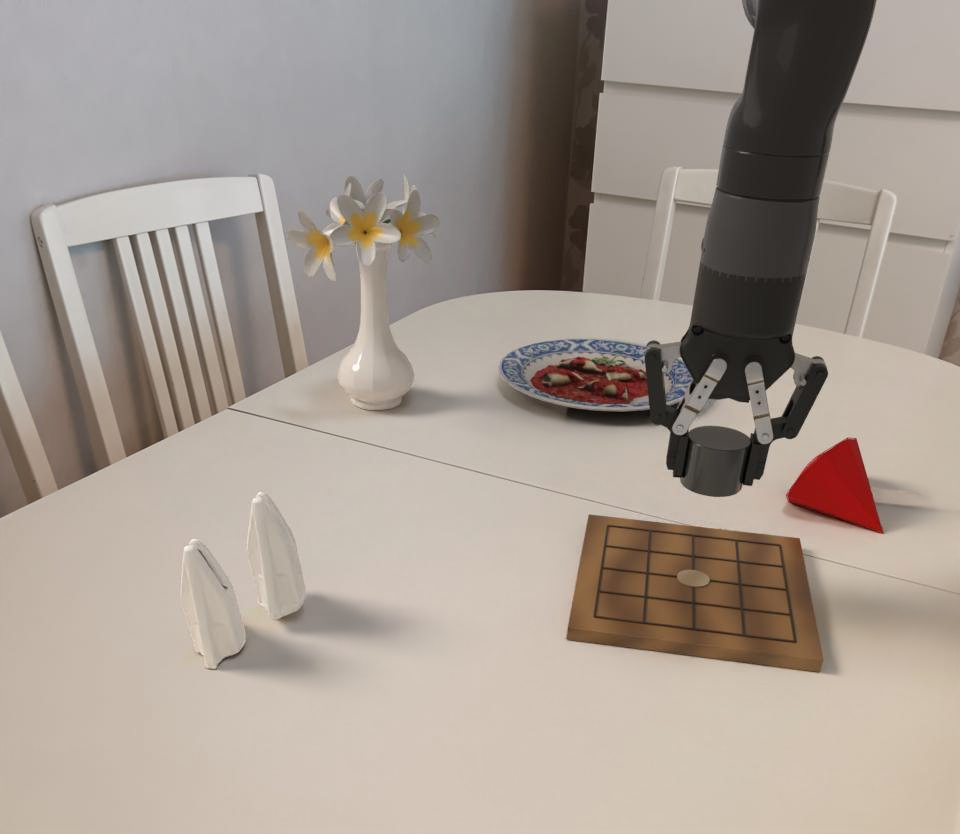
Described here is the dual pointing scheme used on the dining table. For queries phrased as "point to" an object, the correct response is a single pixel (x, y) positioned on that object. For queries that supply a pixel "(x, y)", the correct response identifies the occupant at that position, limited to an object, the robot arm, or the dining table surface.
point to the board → (695, 593)
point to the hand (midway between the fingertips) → (712, 476)
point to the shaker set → (213, 593)
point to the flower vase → (370, 281)
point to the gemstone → (838, 486)
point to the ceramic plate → (589, 374)
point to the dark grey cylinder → (715, 461)
